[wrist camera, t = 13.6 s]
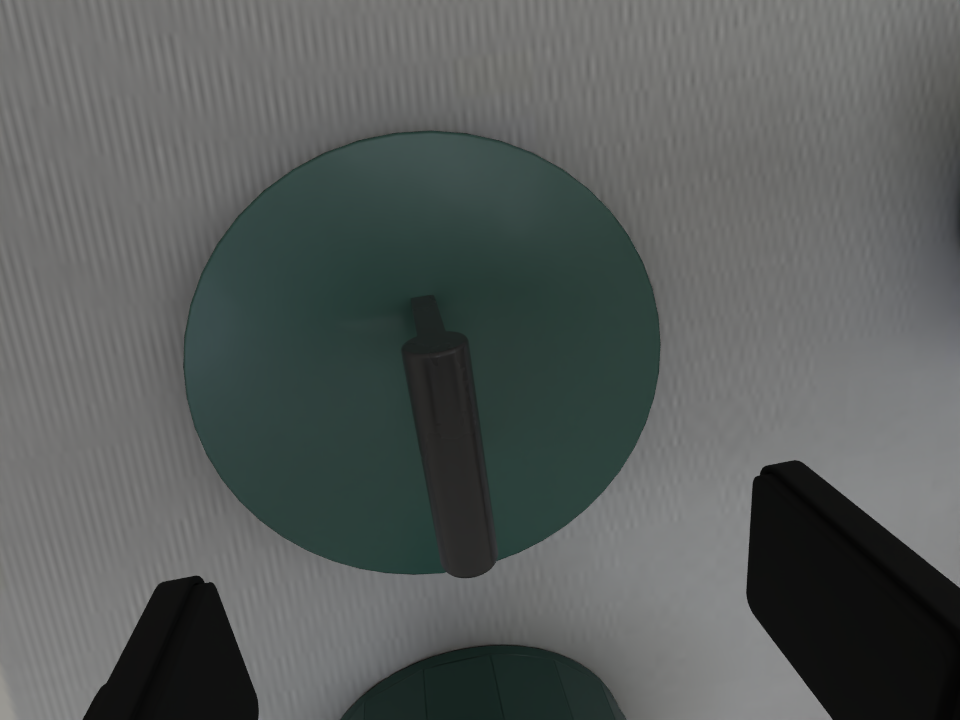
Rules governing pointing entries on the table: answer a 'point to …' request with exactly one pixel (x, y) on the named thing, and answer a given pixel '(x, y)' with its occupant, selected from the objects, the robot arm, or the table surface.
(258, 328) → the lid
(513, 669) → the pot
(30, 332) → the table surface
